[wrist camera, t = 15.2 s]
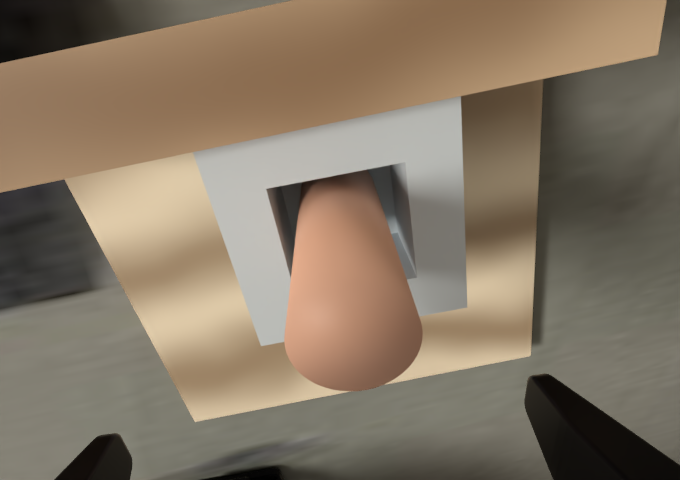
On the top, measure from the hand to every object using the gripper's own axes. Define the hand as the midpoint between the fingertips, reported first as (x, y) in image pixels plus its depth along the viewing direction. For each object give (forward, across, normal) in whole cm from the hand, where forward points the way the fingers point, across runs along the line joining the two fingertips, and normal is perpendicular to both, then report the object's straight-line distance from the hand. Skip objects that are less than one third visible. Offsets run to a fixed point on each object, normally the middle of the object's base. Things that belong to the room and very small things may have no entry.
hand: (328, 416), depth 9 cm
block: (+11, -1, -1) cm, 11 cm away
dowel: (+10, -1, -1) cm, 10 cm away
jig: (+12, 0, +2) cm, 12 cm away
